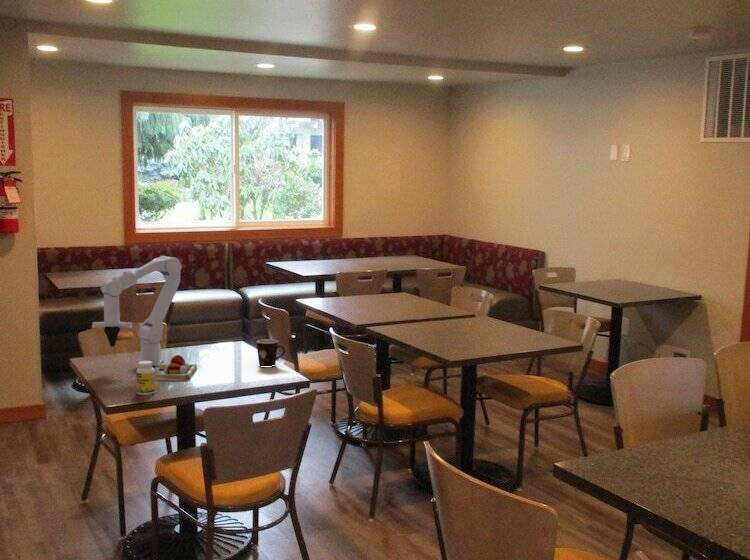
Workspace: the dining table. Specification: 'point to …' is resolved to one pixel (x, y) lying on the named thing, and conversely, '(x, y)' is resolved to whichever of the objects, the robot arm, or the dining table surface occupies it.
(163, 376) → the beige wooden tray
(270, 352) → the coffee mug
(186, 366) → the red and white piece
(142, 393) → the pill bottle
